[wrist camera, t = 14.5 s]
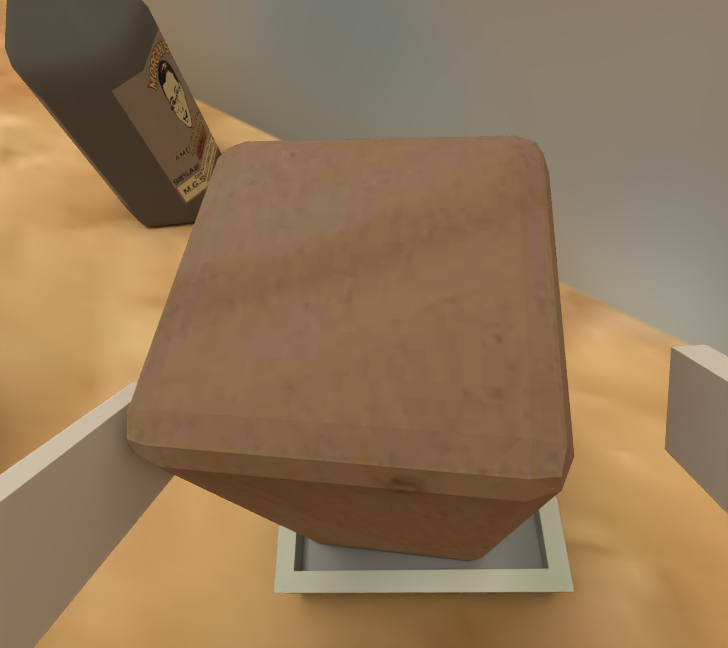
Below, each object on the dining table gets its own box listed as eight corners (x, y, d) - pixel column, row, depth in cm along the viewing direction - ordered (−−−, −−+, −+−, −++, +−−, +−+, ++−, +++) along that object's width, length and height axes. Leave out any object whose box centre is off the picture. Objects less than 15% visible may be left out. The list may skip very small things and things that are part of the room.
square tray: (300, 593, 30) (273, 592, 25) (312, 370, 38) (293, 337, 33) (552, 592, 28) (574, 591, 24) (513, 358, 36) (523, 321, 31)
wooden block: (487, 564, 26) (592, 497, 9) (305, 543, 28) (90, 451, 10) (486, 388, 31) (553, 119, 13) (331, 379, 32) (213, 128, 15)
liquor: (129, 232, 48) (-243, -203, 22) (149, 165, 52) (-140, -262, 26) (218, 223, 47) (-63, -247, 21) (231, 156, 51) (13, -300, 25)
